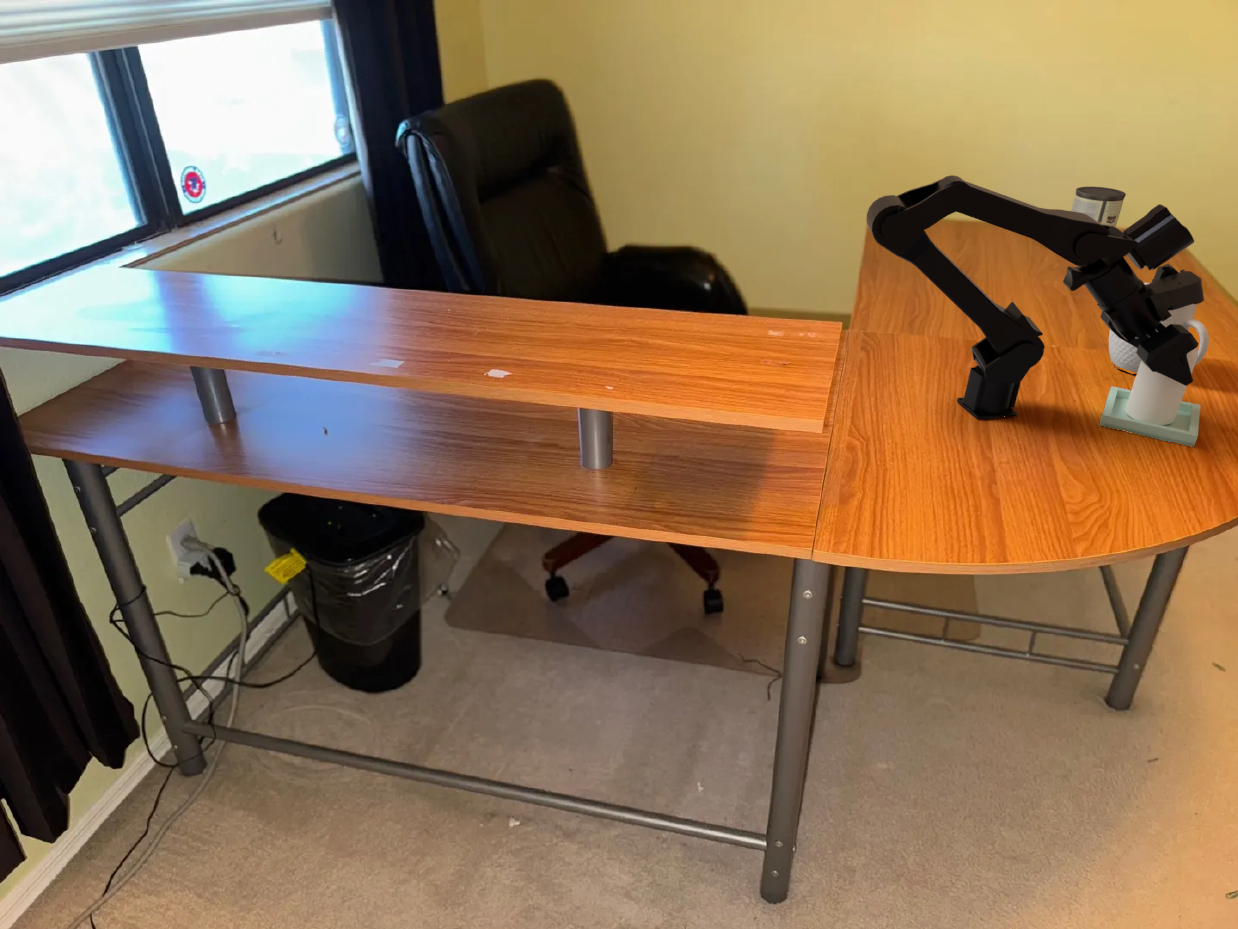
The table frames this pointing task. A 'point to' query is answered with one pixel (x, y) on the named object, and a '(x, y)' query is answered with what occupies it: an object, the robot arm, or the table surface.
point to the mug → (1126, 353)
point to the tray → (1177, 431)
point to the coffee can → (1099, 204)
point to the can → (1156, 395)
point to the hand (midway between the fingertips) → (1176, 370)
